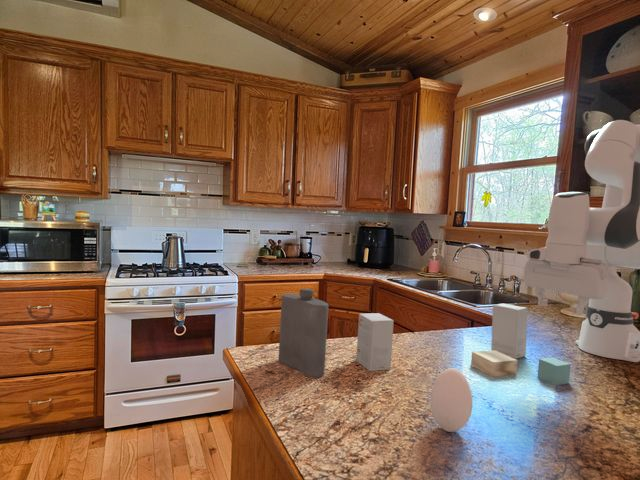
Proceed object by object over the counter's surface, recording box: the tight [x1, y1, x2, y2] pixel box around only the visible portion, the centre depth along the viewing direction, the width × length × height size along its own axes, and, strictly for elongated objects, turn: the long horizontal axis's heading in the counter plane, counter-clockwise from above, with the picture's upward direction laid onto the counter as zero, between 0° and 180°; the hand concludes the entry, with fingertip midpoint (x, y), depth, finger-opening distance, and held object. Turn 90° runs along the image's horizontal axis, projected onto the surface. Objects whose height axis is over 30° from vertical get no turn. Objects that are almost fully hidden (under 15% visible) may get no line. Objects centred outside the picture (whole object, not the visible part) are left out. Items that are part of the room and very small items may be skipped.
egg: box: [429, 367, 473, 433], centre depth 75 cm, size 7×7×12 cm
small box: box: [355, 312, 395, 372], centre depth 106 cm, size 8×6×13 cm
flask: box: [277, 287, 329, 379], centre depth 101 cm, size 15×6×20 cm, turn 44°
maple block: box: [470, 350, 518, 377], centre depth 109 cm, size 8×8×4 cm
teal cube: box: [537, 357, 572, 386], centre depth 103 cm, size 5×5×5 cm
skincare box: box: [490, 303, 528, 360], centre depth 122 cm, size 8×6×15 cm
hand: (559, 309), depth 102 cm, fingers open, 8 cm apart
